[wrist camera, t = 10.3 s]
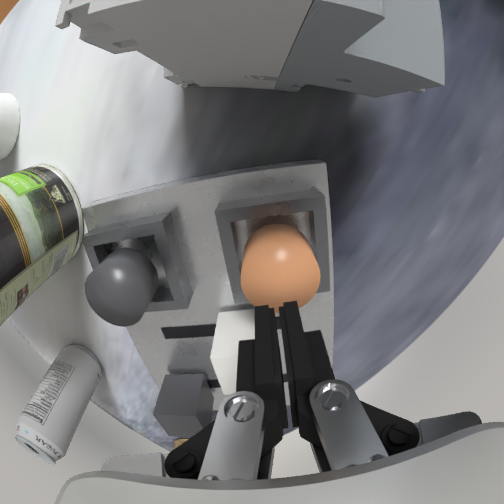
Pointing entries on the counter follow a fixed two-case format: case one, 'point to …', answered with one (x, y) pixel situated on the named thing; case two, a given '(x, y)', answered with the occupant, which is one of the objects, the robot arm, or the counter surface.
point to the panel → (212, 255)
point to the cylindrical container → (8, 123)
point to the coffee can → (35, 231)
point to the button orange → (279, 267)
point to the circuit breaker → (274, 41)
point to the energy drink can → (59, 403)
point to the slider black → (184, 404)
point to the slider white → (230, 345)
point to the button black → (122, 286)
